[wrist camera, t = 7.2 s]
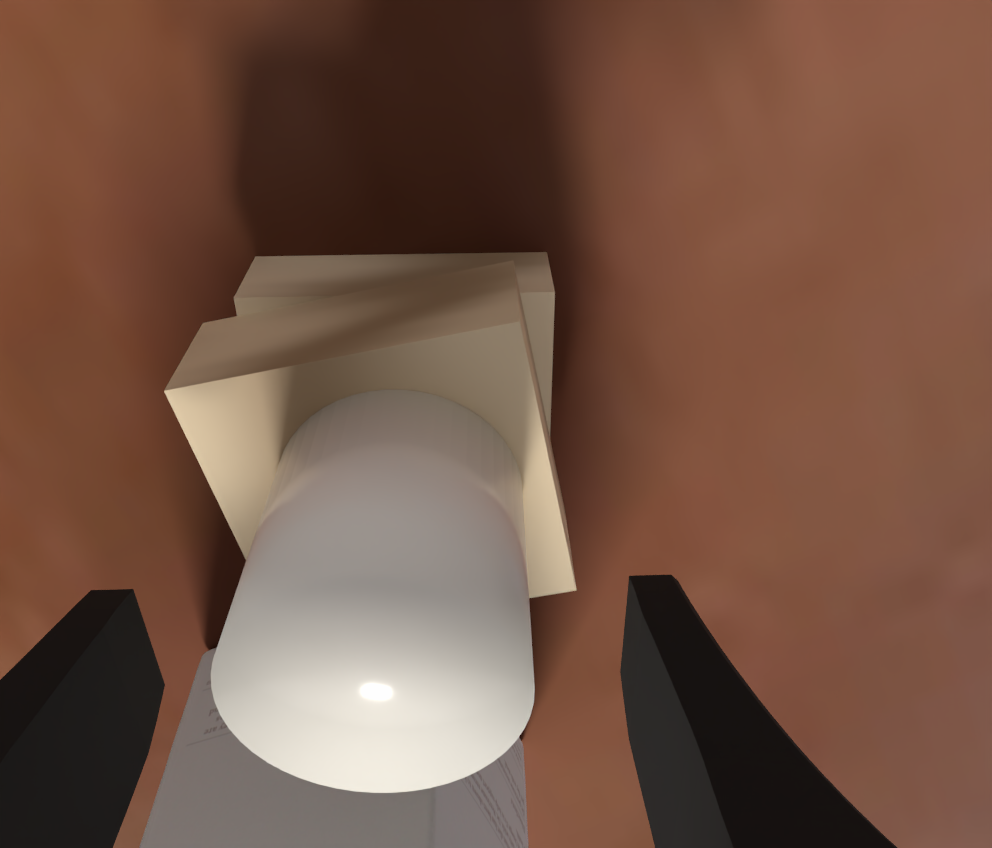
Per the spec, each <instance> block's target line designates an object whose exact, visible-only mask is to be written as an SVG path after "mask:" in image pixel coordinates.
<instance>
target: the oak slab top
mask: <svg viewBox="0 0 992 848" xmlns="http://www.w3.org/2000/svg"><path fill="white" fill-rule="evenodd" d="M385 389H393V390H411V391H420V392H424V393H428V394H433V395H437V396H440V397H443V398H445V399H448V400H451V401H454V402H456V403H458V404H460V405H462V406H464V407H466V408H468V409H469V410H471V411H472V412H474V413H475V414H477V415H479V416H480V417H481V418H483V419H484V420H485V421H486V422H487V423H489V424H490V425H491V426H492V427H493V428H494V429H495V430H496V431H497V432H498V433H499V435H500V436H501V437H502V438H503V439H504V441H505V442H506V444H507V445H508V447H509V448H510V450H511V451H512V453H513V456H514V458H515V460H516V462H517V465H518V468H519V471H520V475H521V482H522V491H523V508H524V524H525V540H526V556H527V572H528V588H529V598H534V597H540V596H546V595H552V594H558V593H564V592H570V591H576V583H575V576H574V569H573V562H572V556H571V549H570V542H569V535H568V528H567V521H566V514H565V508H564V503H563V499H562V494H561V489H560V484H559V479H558V474H557V469H556V465H555V460H554V455H553V450H552V445H551V440H550V436H549V431H548V426H547V421H546V416H545V411H544V407H543V402H542V397H541V392H540V387H539V382H538V377H537V373H536V368H535V363H534V358H533V353H532V348H531V344H530V339H529V334H528V329H527V324H526V319H525V315H524V310H523V305H522V300H521V295H520V290H519V285H518V281H517V276H516V271H515V266H514V261H508V262H503V263H498V264H493V265H488V266H483V267H478V268H473V269H468V270H463V271H458V272H453V273H448V274H443V275H438V276H433V277H428V278H423V279H418V280H414V281H409V282H404V283H399V284H394V285H389V286H384V287H379V288H374V289H369V290H364V291H359V292H354V293H349V294H344V295H339V296H335V297H330V298H325V299H320V300H315V301H310V302H305V303H300V304H295V305H290V306H285V307H280V308H276V309H271V310H266V311H261V312H256V313H251V314H246V315H241V316H235V317H230V318H225V319H220V320H215V321H211V322H206V323H203V324H202V325H201V327H200V329H199V331H198V332H197V334H196V336H195V338H194V339H193V341H192V343H191V345H190V346H189V348H188V350H187V352H186V353H185V355H184V357H183V359H182V360H181V362H180V364H179V366H178V367H177V369H176V371H175V372H174V374H173V376H172V378H171V379H170V381H169V383H168V385H167V386H166V388H165V390H164V392H165V394H166V396H167V398H168V400H169V402H170V404H171V406H172V408H173V411H174V413H175V415H176V417H177V419H178V421H179V423H180V425H181V427H182V429H183V431H184V433H185V435H186V437H187V439H188V441H189V444H190V446H191V448H192V450H193V452H194V454H195V456H196V458H197V460H198V462H199V464H200V466H201V468H202V470H203V472H204V474H205V477H206V479H207V481H208V483H209V485H210V487H211V489H212V491H213V493H214V495H215V497H216V499H217V501H218V503H219V505H220V507H221V510H222V512H223V514H224V516H225V518H226V520H227V522H228V524H229V526H230V528H231V530H232V532H233V534H234V536H235V538H236V540H237V543H238V545H239V547H240V549H241V551H242V553H243V555H244V557H245V559H246V560H247V557H248V554H249V551H250V548H251V545H252V542H253V539H254V536H255V533H256V530H257V527H258V524H259V521H260V518H261V516H262V513H263V510H264V507H265V504H266V501H267V498H268V495H269V492H270V489H271V486H272V483H273V480H274V477H275V474H276V471H277V468H278V465H279V462H280V459H281V457H282V454H283V451H284V449H285V447H286V445H287V444H288V442H289V440H290V438H291V437H292V436H293V434H294V433H295V432H296V431H297V429H298V428H299V427H300V426H301V425H302V424H303V423H304V422H305V421H306V420H307V419H308V418H310V417H311V416H312V415H314V414H315V413H316V412H318V411H319V410H321V409H322V408H324V407H326V406H328V405H330V404H332V403H334V402H336V401H338V400H341V399H343V398H346V397H349V396H351V395H355V394H360V393H364V392H368V391H376V390H385Z"/></svg>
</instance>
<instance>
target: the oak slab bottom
mask: <svg viewBox="0 0 992 848" xmlns="http://www.w3.org/2000/svg"><path fill="white" fill-rule="evenodd" d="M508 261H514V266H515V271H516V276H517V281H518V285H519V290H520V295H521V300H522V305H523V310H524V315H525V319H526V324H527V329H528V334H529V339H530V344H531V348H532V353H533V358H534V363H535V368H536V373H537V377H538V382H539V387H540V392H541V397H542V402H543V407H544V411H545V416H546V421H547V426H548V431H549V436H550V425H551V395H552V365H553V335H554V305H555V290H554V285H553V280H552V275H551V270H550V265H549V260H548V255H547V252H516V253H449V254H383V255H317V256H255V258H254V260H253V262H252V264H251V266H250V268H249V270H248V271H247V273H246V275H245V277H244V279H243V281H242V283H241V285H240V287H239V288H238V290H237V292H236V294H235V296H234V303H235V308H236V313H237V316H241V315H246V314H251V313H256V312H261V311H266V310H271V309H276V308H280V307H285V306H290V305H295V304H300V303H305V302H310V301H315V300H320V299H325V298H330V297H335V296H339V295H344V294H349V293H354V292H359V291H364V290H369V289H374V288H379V287H384V286H389V285H394V284H399V283H404V282H409V281H414V280H418V279H423V278H428V277H433V276H438V275H443V274H448V273H453V272H458V271H463V270H468V269H473V268H478V267H483V266H488V265H493V264H498V263H503V262H508Z"/></svg>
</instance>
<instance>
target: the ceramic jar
mask: <svg viewBox="0 0 992 848" xmlns="http://www.w3.org/2000/svg"><path fill="white" fill-rule="evenodd" d="M211 689H212V693H213V697H214V701H215V704H216V706H217V709H218V711H219V713H220V715H221V717H222V719H223V720H224V722H225V723H226V725H227V726H228V728H229V729H230V730H231V732H232V733H233V734H234V735H235V736H236V737H237V738H238V740H239V741H240V742H241V743H243V744H244V745H245V746H246V747H247V748H248V749H249V750H251V751H252V752H253V753H254V754H256V755H257V756H259V757H260V758H262V759H263V760H264V761H266V762H267V763H269V764H271V765H273V766H275V767H277V768H278V769H280V770H282V771H284V772H287V773H289V774H291V775H293V776H296V777H298V778H301V779H304V780H307V781H310V782H313V783H316V784H319V785H324V786H328V787H332V788H336V789H343V790H349V791H356V792H370V793H396V792H408V791H416V790H422V789H428V788H433V787H436V786H440V785H444V784H448V783H451V782H453V781H456V780H459V779H462V778H465V777H467V776H469V775H471V774H473V773H475V772H477V771H479V770H481V769H482V768H484V767H486V766H487V765H489V764H491V763H492V762H494V761H495V760H496V759H497V758H499V757H500V756H501V755H502V754H504V753H505V752H506V751H507V750H508V749H509V748H510V747H511V746H512V745H513V744H514V743H515V741H516V740H517V739H518V737H519V736H520V735H521V733H522V732H523V730H524V729H525V727H526V724H527V722H528V720H529V718H530V716H531V712H532V708H533V704H534V692H535V685H534V669H533V653H532V637H531V621H530V604H529V588H528V572H527V556H526V540H525V524H524V508H523V491H522V482H521V475H520V471H519V468H518V465H517V462H516V460H515V458H514V456H513V453H512V451H511V450H510V448H509V447H508V445H507V444H506V442H505V441H504V439H503V438H502V437H501V436H500V435H499V433H498V432H497V431H496V430H495V429H494V428H493V427H492V426H491V425H490V424H489V423H487V422H486V421H485V420H484V419H483V418H481V417H480V416H479V415H477V414H475V413H474V412H472V411H471V410H469V409H468V408H466V407H464V406H462V405H460V404H458V403H456V402H454V401H451V400H448V399H445V398H443V397H440V396H437V395H433V394H428V393H424V392H420V391H411V390H393V389H385V390H376V391H368V392H364V393H360V394H355V395H351V396H349V397H346V398H343V399H341V400H338V401H336V402H334V403H332V404H330V405H328V406H326V407H324V408H322V409H321V410H319V411H318V412H316V413H315V414H314V415H312V416H311V417H310V418H308V419H307V420H306V421H305V422H304V423H303V424H302V425H301V426H300V427H299V428H298V429H297V431H296V432H295V433H294V434H293V436H292V437H291V438H290V440H289V442H288V444H287V445H286V447H285V449H284V451H283V454H282V457H281V459H280V462H279V465H278V468H277V471H276V474H275V477H274V480H273V483H272V486H271V489H270V492H269V495H268V498H267V501H266V504H265V507H264V510H263V513H262V516H261V518H260V521H259V524H258V527H257V530H256V533H255V536H254V539H253V542H252V545H251V548H250V551H249V554H248V557H247V560H246V563H245V566H244V569H243V572H242V575H241V578H240V581H239V584H238V587H237V590H236V593H235V596H234V598H233V601H232V604H231V607H230V610H229V613H228V616H227V619H226V622H225V625H224V628H223V631H222V634H221V637H220V640H219V643H218V646H217V649H216V652H215V655H214V658H213V662H212V668H211Z"/></svg>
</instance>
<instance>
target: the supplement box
mask: <svg viewBox="0 0 992 848" xmlns="http://www.w3.org/2000/svg"><path fill="white" fill-rule="evenodd" d="M216 649H217V648H214V649H211V650H209V651H207V652H205V653H204V654H203V655H202V658H201V661H200V664H199V666H198V669H197V672H196V676H195V679H194V682H193V685H192V688H191V691H190V694H189V697H188V700H187V704H186V707H185V710H184V712H183V715H182V718H181V721H180V724H179V727H178V730H177V733H176V736H175V739H174V743H173V746H172V749H171V752H170V755H169V758H168V761H167V764H166V768H165V771H164V774H163V777H162V780H161V783H160V786H159V789H158V792H157V795H156V798H155V801H154V804H153V807H152V810H151V814H150V817H149V820H148V823H147V826H146V829H145V832H144V835H143V838H142V841H141V844H140V847H139V848H528V831H527V809H526V787H525V769H524V750H523V744H522V742H521V740H520V738H519V737H518V739H517V740H516V741H515V743H514V744H513V745H512V746H511V747H510V748H509V749H508V750H507V751H506V752H505V753H504V754H502V755H501V756H500V757H499V758H497V759H496V760H495V761H494V762H492V763H491V764H489V765H487V766H486V767H484V768H482V769H481V770H479V771H477V772H475V773H473V774H471V775H469V776H467V777H465V778H462V779H459V780H456V781H453V782H451V783H448V784H444V785H440V786H436V787H433V788H428V789H422V790H416V791H408V792H396V793H370V792H356V791H349V790H343V789H336V788H332V787H328V786H324V785H319V784H316V783H313V782H310V781H307V780H304V779H301V778H298V777H296V776H293V775H291V774H289V773H287V772H284V771H282V770H280V769H278V768H277V767H275V766H273V765H271V764H269V763H267V762H266V761H264V760H263V759H262V758H260V757H259V756H257V755H256V754H254V753H253V752H252V751H251V750H249V749H248V748H247V747H246V746H245V745H244V744H243V743H241V742H240V741H239V740H238V738H237V737H236V736H235V735H234V734H233V733H232V732H231V730H230V729H229V728H228V726H227V725H226V723H225V722H224V720H223V719H222V717H221V715H220V713H219V711H218V709H217V706H216V704H215V701H214V697H213V693H212V689H211V668H212V662H213V658H214V655H215V652H216Z"/></svg>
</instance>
